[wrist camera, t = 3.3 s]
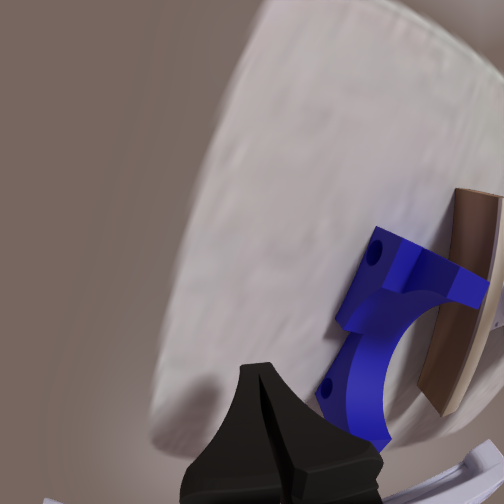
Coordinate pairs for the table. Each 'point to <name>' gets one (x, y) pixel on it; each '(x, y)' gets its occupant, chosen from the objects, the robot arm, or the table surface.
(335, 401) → the cable clip
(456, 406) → the bar
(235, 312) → the table surface
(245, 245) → the table surface
